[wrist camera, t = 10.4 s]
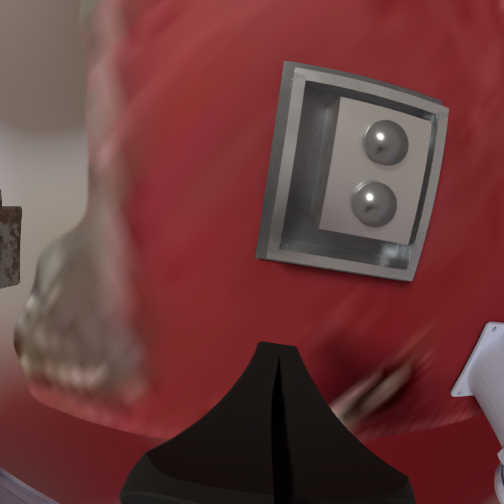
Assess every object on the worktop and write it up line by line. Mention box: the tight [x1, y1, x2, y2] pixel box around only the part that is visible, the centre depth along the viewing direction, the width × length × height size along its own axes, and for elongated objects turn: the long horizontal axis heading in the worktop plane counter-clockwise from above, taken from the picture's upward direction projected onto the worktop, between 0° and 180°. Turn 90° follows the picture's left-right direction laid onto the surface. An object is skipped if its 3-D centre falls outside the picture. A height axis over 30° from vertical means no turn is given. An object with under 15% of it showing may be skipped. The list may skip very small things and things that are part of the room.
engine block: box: [311, 97, 432, 245], centre depth 15 cm, size 4×6×5 cm
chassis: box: [255, 61, 449, 281], centre depth 17 cm, size 10×12×3 cm
